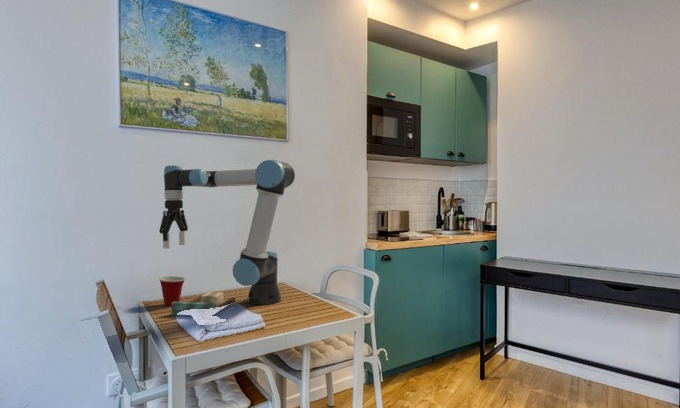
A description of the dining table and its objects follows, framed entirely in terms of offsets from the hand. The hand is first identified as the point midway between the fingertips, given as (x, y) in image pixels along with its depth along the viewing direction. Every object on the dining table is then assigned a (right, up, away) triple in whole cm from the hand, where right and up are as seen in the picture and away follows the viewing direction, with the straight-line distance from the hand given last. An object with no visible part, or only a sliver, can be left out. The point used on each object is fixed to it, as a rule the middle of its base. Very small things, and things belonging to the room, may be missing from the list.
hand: (174, 246), depth 179 cm
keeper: (+18, -26, -2) cm, 31 cm away
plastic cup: (+1, -26, -4) cm, 26 cm away
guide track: (+17, -25, -8) cm, 32 cm away
